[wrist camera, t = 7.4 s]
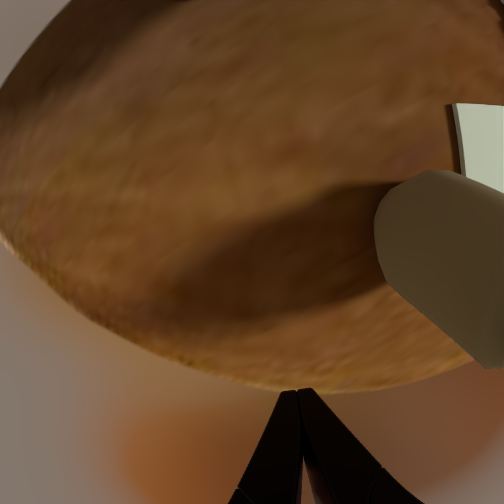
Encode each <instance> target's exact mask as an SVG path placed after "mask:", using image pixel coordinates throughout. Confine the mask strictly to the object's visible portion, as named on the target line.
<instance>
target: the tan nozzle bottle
mask: <svg viewBox="0 0 504 504" xmlns="http://www.w3.org/2000/svg"><path fill="white" fill-rule="evenodd" d="M374 240H375V245H376V251H377V257H378V261H379V264H380V266H381V269H382V272H383V274H384V277H385V279H386V282H387V283H388V284H389V285H390V286H391V287H392V288H393V289H394V290H395V291H396V292H398V293H399V294H400V295H401V296H402V297H403V298H404V299H405V300H407V301H408V302H409V303H410V304H412V305H413V306H414V307H415V308H416V309H418V310H419V311H420V312H421V313H422V314H424V315H425V316H426V317H427V318H428V319H430V320H431V321H432V322H433V323H434V324H435V325H437V326H438V327H439V328H440V329H441V330H442V331H444V332H445V333H446V334H447V335H448V336H449V337H450V338H452V339H453V340H454V341H455V342H456V343H457V344H458V345H460V346H461V347H462V348H463V349H464V350H465V351H466V352H467V353H468V354H470V355H471V356H472V357H473V358H474V359H475V360H476V361H477V362H478V363H480V364H481V365H482V366H483V367H484V368H485V369H486V368H487V369H502V368H504V193H502V192H500V191H498V190H496V189H493V188H491V187H489V186H487V185H484V184H482V183H480V182H477V181H475V180H472V179H470V178H467V177H465V176H462V175H460V174H457V173H455V172H452V171H449V170H427V171H425V172H423V173H421V174H419V175H417V176H415V177H413V178H411V179H409V180H407V181H405V182H403V183H401V184H399V185H397V186H395V187H394V188H392V189H390V190H389V191H388V193H387V194H386V195H385V196H384V198H383V199H382V200H381V201H380V203H379V205H378V208H377V211H376V214H375V217H374Z"/></svg>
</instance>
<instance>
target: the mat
mask: <svg viewBox="0 0 504 504" xmlns="http://www.w3.org/2000/svg"><path fill="white" fill-rule="evenodd" d="M452 109H453V114H454V120H455V126H456V132H457V139H458V147H459V155H460V165H461V175H462V176H465V177H467V178H470V179H472V180H475V181H477V182H480V183H482V184H484V185H487V186H489V187H491V188H493V189H496V190H498V191H500V192H502V193H504V106H495V105H481V104H459V103H456V104H452Z"/></svg>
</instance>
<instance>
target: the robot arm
mask: <svg viewBox="0 0 504 504" xmlns="http://www.w3.org/2000/svg"><path fill="white" fill-rule="evenodd" d="M303 458H304V463H305V467H306V471H307V475H308V479H309V483H310V486H311V490H312V494H313V498H314V501H315V504H424V503H423V502H421V501H420V500H419V499H417V498H416V497H415V496H414V495H412V494H411V493H410V492H409V491H407V490H406V489H405V488H404V487H403V486H402V485H401V484H400V483H399V482H397V480H396V479H394V478H393V477H392V476H391V474H390V473H389V472H388V471H387V470H386V469H385V468H382V465H381V464H380V463H379V462H378V461H377V460H376V459H375V458H374V457H373V456H372V454H371V453H370V452H369V451H368V450H367V449H366V448H365V447H364V446H363V445H362V444H361V443H360V441H359V440H358V439H357V438H356V437H355V436H354V435H353V434H352V433H351V431H350V430H349V429H348V428H347V427H346V426H345V425H344V424H343V423H342V422H341V420H340V419H339V418H338V417H337V416H336V415H335V414H334V412H333V411H332V410H331V409H330V408H329V407H328V406H327V405H326V403H325V402H324V401H323V400H322V399H321V398H320V397H319V395H318V394H317V393H316V392H315V391H314V390H313V389H312V388H304V389H298V390H297V392H296V390H289V391H282V392H281V393H280V395H279V398H278V400H277V402H276V405H275V407H274V409H273V412H272V414H271V417H270V418H269V421H268V423H267V425H266V427H265V430H264V432H263V434H262V436H261V438H260V441H259V443H258V445H257V447H256V449H255V451H254V453H253V456H252V457H251V460H250V462H249V464H248V466H247V468H246V470H245V472H244V474H243V476H242V478H241V480H240V482H239V484H238V486H237V488H238V489H235V491H234V493H233V495H232V497H231V499H230V501H229V502H228V504H301V498H302V480H303V479H302V478H303Z"/></svg>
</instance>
